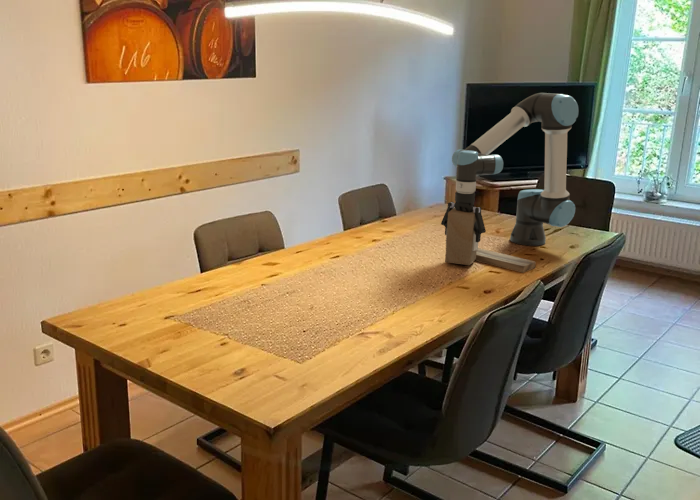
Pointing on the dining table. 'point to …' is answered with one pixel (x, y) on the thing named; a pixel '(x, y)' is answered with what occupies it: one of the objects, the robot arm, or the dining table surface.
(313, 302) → the dining table surface
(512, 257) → the curved panel
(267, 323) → the dining table surface
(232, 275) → the dining table surface
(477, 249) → the robot arm
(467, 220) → the wooden block
